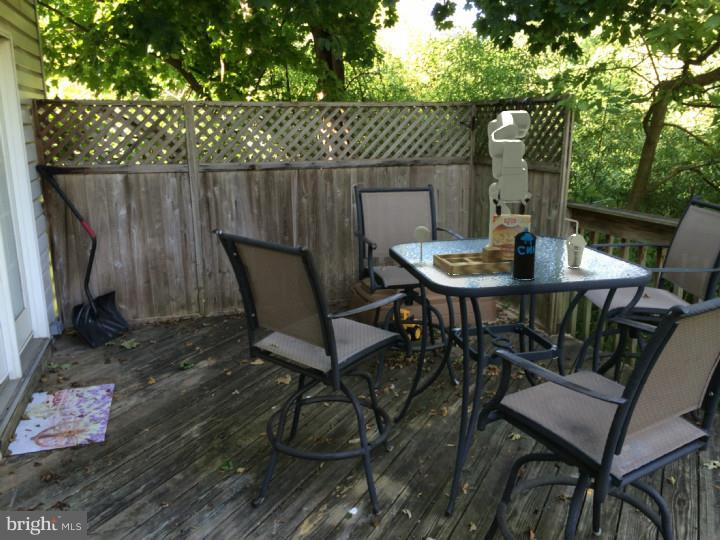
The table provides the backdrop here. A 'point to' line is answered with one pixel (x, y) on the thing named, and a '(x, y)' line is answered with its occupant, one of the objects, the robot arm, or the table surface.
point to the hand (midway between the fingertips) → (510, 215)
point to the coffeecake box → (508, 232)
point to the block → (491, 255)
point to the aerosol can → (524, 254)
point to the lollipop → (421, 235)
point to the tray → (468, 264)
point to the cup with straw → (575, 247)
